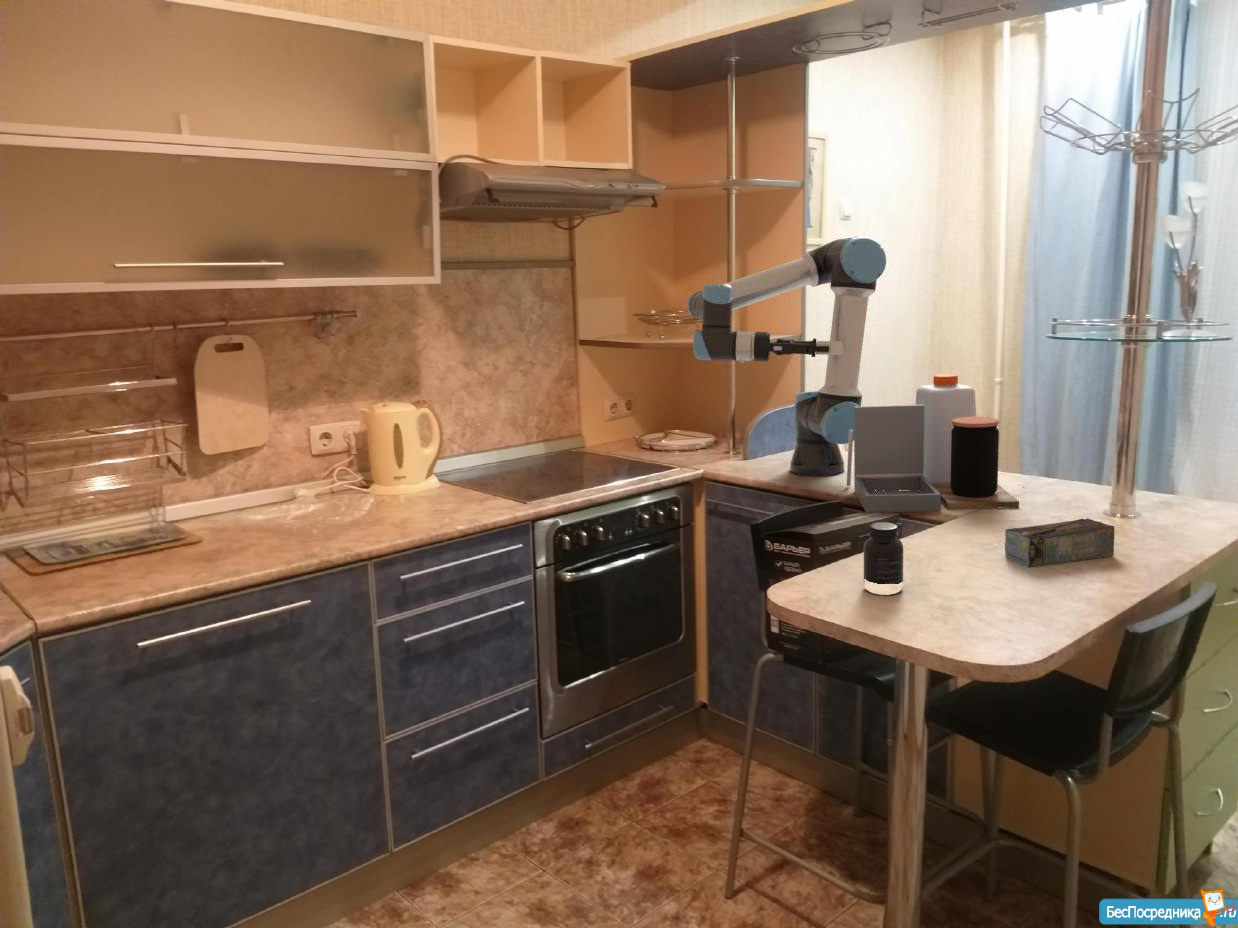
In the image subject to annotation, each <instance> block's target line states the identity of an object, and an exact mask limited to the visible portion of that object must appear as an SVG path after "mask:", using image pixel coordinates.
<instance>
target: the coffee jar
mask: <svg viewBox="0 0 1238 928" xmlns="http://www.w3.org/2000/svg"><path fill="white" fill-rule="evenodd" d="M952 424H953V426H954V428H953V429H952V431H951V483H950V487H951V490H952V491H953V493H954V494H955V495H958V496H962V497H971V498H982V497H990V496H993V495H994V494H995V492H996V491H997V486H998V485H999V484H998V483H999V482H998V481H999V480H998V479H999V478H998V477H999V475H998V474H999V449H1000V448H999V447H1000V446H999V443H1000V431H999V429H998V426H999V424H1000V419H997V418H996V417H989V416H976V417H961V418H955V419H953V420H952Z"/></svg>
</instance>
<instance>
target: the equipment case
mask: <svg viewBox="0 0 1238 928" xmlns="http://www.w3.org/2000/svg"><path fill="white" fill-rule="evenodd" d="M853 442H854V443H853ZM853 444H854V445H853ZM847 445H848V446H847V447H848V449H847V468H846V469H847V470H846V486H847V487H850V486H851V484H852V482H851V481H852V462H854V463H853V465H854V467H853V470H854V472H853V473H854V474H853V475H854V476H853V479H854V485H853V487H854V490H855V491H854V493H855V492H856V493H855V495H856V494H857V495H856V497H857V496H858V497H857V498H859V499H858V500H859V502H860V505H861V506H862V508H863V510H864V511H865V513H911V512H912V513H914V512H915V513H916V512H917V513H918V512H920V513H921V512H925V513H926V512H941V511H942V510H941V509H942V502H941V494H940V493H939V492H938V491H937V490H936V489H935V487H934V486H933V485H932V484H931V483H930V482H929V481H928V480H927V479H926V478H925V477H924V474H923V470H924V405H915V404H904V405H903V404H899V405H898V404H897V405H896V404H895V405H873V406H872V405H869V406H866V405H865V406H861V407H854V441H853V430H849V442H848V444H847ZM853 446H854V447H853ZM853 448H854V451H853ZM853 453H854V454H853ZM853 455H854V456H853ZM853 457H854V461H852V460H853ZM875 490H876V491H883V490H884V491H883V492H900V491H899V490H902V491H901V492H904V491H903V490H919V491H918V492H919V493H910V494H909V493H905V494H904V493H901V494H899V493H898V494H897V493H896V494H870V492H868V491H875ZM921 493H922V494H921Z"/></svg>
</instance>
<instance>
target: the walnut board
mask: <svg viewBox="0 0 1238 928" xmlns="http://www.w3.org/2000/svg"><path fill="white" fill-rule="evenodd" d="M934 487H935V489H936V490H937V491H938V492H939V493H940V494H941V504H943V506H945V508H946V509H948V510H955V509H956V510H957V509H958V510H964V509H966V510H967V509H971V510H973V509H1000V508H999V507H1009V508H1008V509H1016V508H1017V509H1018V508H1020V501H1019V500H1018V499H1017V498H1015V497H1014V496H1013V495H1012V494H1011V493H1009V492H1008V491H1007V490H1006V489H1004V488H1003V487H1002V486H1001V485H1000V484H998V486H997V491H996V492H995V494H994V495H993V496H990V497H982V498H971V497H962V496H958V495H955V494H954V493H953V491H952V490H951V487H950V485H940V486H934Z"/></svg>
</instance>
